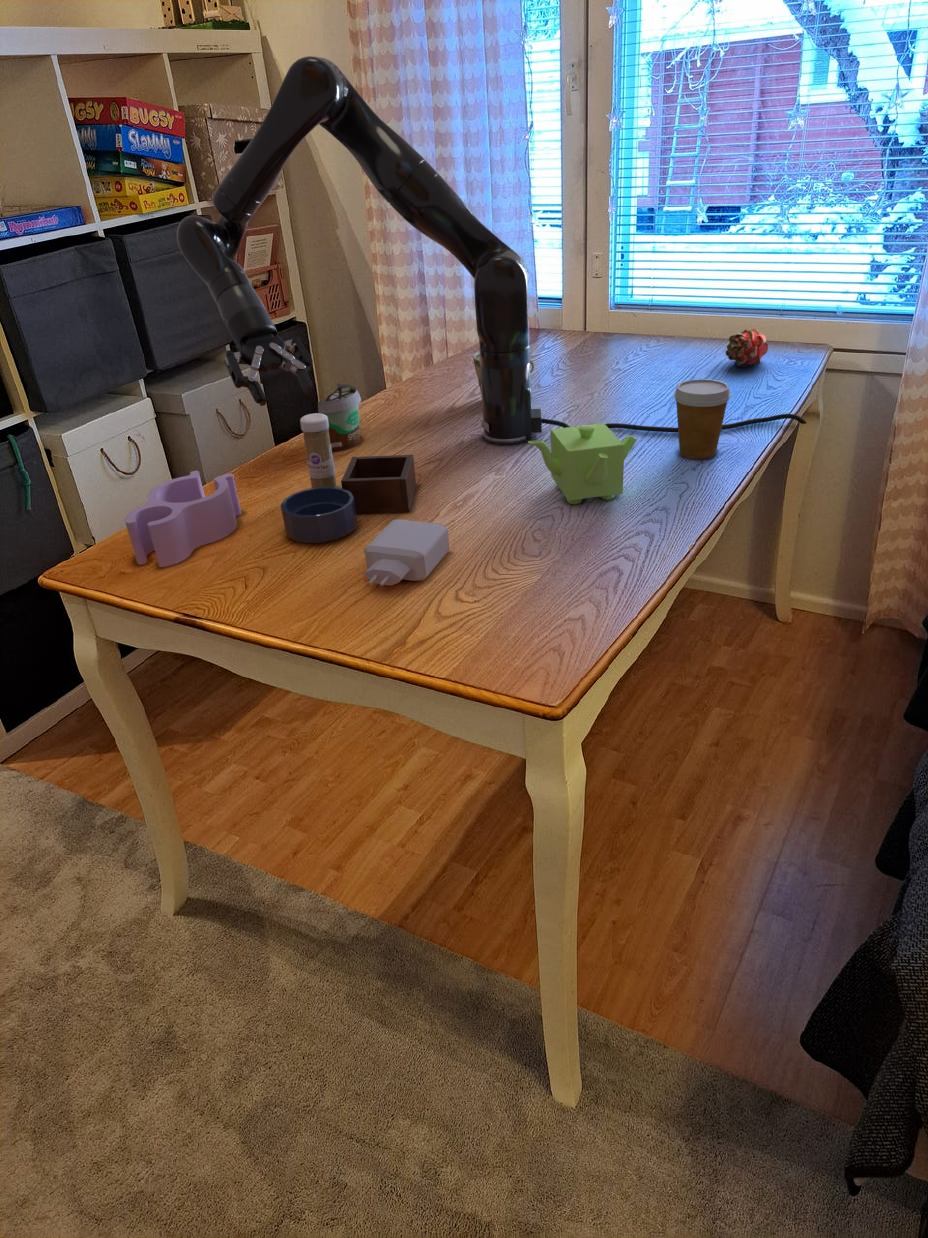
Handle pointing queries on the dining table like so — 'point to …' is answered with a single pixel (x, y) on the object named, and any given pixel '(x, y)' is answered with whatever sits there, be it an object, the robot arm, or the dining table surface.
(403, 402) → the dining table surface
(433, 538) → the charger
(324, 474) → the sprinkles bottle
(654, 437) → the dining table surface
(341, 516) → the bowl
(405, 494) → the box
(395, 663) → the dining table surface
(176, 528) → the clip
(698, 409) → the disposable coffee cup
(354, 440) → the food container
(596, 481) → the kettle
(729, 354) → the dragon fruit
